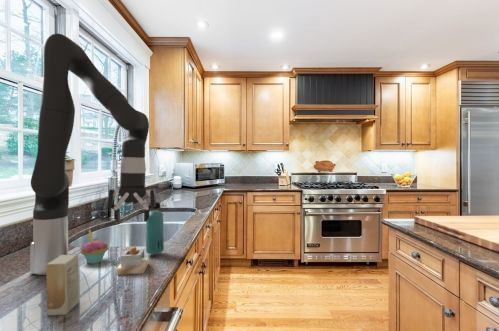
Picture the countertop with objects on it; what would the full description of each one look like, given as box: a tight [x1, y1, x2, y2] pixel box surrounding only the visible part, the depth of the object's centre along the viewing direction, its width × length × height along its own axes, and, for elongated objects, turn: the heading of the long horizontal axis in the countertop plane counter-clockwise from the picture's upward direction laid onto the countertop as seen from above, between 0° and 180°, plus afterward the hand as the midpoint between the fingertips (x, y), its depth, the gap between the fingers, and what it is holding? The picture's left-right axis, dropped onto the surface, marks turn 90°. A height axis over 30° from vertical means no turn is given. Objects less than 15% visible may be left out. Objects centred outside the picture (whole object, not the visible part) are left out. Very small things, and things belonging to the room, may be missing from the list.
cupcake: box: [80, 228, 109, 265], centre depth 100 cm, size 9×8×12 cm
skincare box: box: [46, 254, 80, 316], centre depth 68 cm, size 6×4×12 cm
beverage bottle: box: [145, 201, 165, 255], centre depth 106 cm, size 6×7×20 cm
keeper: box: [116, 246, 149, 276], centre depth 92 cm, size 8×8×7 cm
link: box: [120, 248, 145, 267], centre depth 92 cm, size 6×6×4 cm
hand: (132, 221), depth 92 cm, fingers open, 8 cm apart
